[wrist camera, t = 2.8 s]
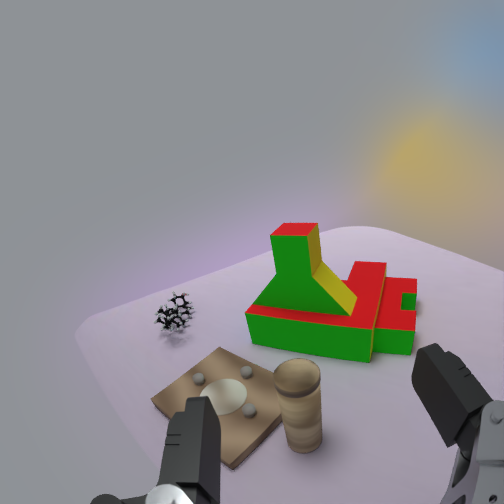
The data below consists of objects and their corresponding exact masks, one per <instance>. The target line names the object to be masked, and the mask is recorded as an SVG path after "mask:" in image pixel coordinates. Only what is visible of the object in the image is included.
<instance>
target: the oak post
mask: <svg viewBox="0 0 504 504" xmlns="http://www.w3.org/2000/svg"><path fill="white" fill-rule="evenodd" d="M320 380H321V379H320V369H319V367H318V366H317V365H316V364H315V363H314V362H313V361H310V360H308V359H302V358H297V359H291V360H288V361H285V362H283V363H282V364H280V365H279V366H278V367H277V368H276V370H275V371H274V374H273V381H274V386H275V389H276V392H277V397H278V401H279V406H280V411H281V415H282V420H283V424H284V429H285V433H286V438H287V442H288V445H289V447H290V448H291V449H292V450H293V451H295V452H298V453H308V452H311V451H313V450H315V449H317V448H318V447H319V445H320V444H321V441H322V415H321V390H320Z"/></svg>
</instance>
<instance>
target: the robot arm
mask: <svg viewBox="0 0 504 504" xmlns="http://www.w3.org/2000/svg"><path fill="white" fill-rule="evenodd" d="M412 384H413V387H414V390H415V391H416V393H417V395H418V396H419V398H420V400H421V401H422V403H423V405H424V407H425V408H426V410H427V412H428V413H429V415H430V417H431V419H432V421H433V422H434V424H435V426H436V428H437V429H438V431H439V433H440V435H441V437H442V439H443V440H444V442H445V444H446V446H447V448H448V447H450V446H452V445H454V444H456V443H457V445H458V446H459V448H458V450H457V454H456V458H455V463H454V467H453V471H452V474H451V478H450V482H449V485H448V488H447V491H446V493H445V495H444V497H443V498H442V500H441V502H440V504H504V402H503V401H499V400H495V401H494V400H492V398H491V397H490V396H489V395H488V393H487V392H486V391H485V389H484V388H483V387H482V385H481V384H480V383H479V382H478V380H477V379H476V378H475V376H474V375H473V374H471V371H470V370H469V369H468V368H466V365H465V364H464V363H463V362H462V360H461V359H460V358H459V357H458V356H456V355H454V354H453V353H451V352H449V351H448V352H444V351H443V350H442V348H441V347H440V346H439V345H438V344H437V343H434V344H431V345H428V346H426V347H423V348H420V349H419V350H418V351H417V355H416V359H415V364H414V368H413V372H412ZM220 465H221V425H220V421H219V418H218V416H217V414H216V412H215V410H214V407H213V405H212V403H211V401H210V399H209V397H208V396H200V397H188V398H187V400H186V404H185V411H183V412H175V414H174V415H173V417H172V418H171V420H170V421H169V424H168V429H167V437H166V440H165V446H164V452H163V458H162V464H161V470H160V476H159V481H158V484H157V485H156V487H155V488H153V489H152V490H151V491H150V492H149V493H148V494H146V495H144V496H140V497H135V498H129V499H122V500H119V499H118V498H116V497H115V496H113V495H109V494H102V495H99V496H97V497H96V498H94V499H93V500H92V502H91V503H90V504H220Z"/></svg>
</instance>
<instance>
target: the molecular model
mask: <svg viewBox="0 0 504 504" xmlns="http://www.w3.org/2000/svg"><path fill="white" fill-rule="evenodd" d="M172 293H173V295H174V298H172V299H168V301H173V302H174V304H175V307H174V308H169V307H167V305H166V304H165V305H164V306H165V307H166V308H167V309H166V311H165V312H164V311H163V309H162V307H163V306H162V305H160V309H159V311H158V312H156V313H155V315H157V314H158V319H157V320H156V321H154V324H155V323H157V322H161V323H162V324H164V325H162V327H163V328H161V329H160V330H161V331H162V330H167V329H168V330H170V331H172V330H173V329H174V328H173V327H174V325H172V322H173V323H175V324H177V331H179V326H180V325H182V326H183V327H185V325H184V323H185V322H187V321H189V319H187V320H182V318H181V316H182V314H188V316H189V317H190V318H191V317H192V316H191V315H190V314H189V310H190V309H194V307H186V305H187V304H191V303H192V302H191V301H190V302H187V301H185V299H184V296H185V295H189V293H187V294H185V292H184V293H182V295H181V296H176V295H175V292H172ZM177 298H182V299H183V301H184V304H183V305H180V306H178V303H176V302H175V301H176V299H177ZM178 307H182V308H186V309H187V310H186V311H185V312H182V313H181V311H179V310H178ZM169 312H172V313H170V314H169ZM159 313H161V314H164V315H166V318H165V317H164V316H162V315H161V314H159ZM173 314H174V315H175V316H174V317H173ZM176 314H177V315H176ZM160 316H161V318H163V319H164V320H165V322H163V321H161V319H160ZM175 318H178V319H180V320H181V322H176V321H174V319H175ZM169 320H170V321H169ZM168 326H170V327H171V329H170V328H169V327H168Z"/></svg>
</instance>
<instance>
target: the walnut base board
mask: <svg viewBox="0 0 504 504" xmlns="http://www.w3.org/2000/svg"><path fill="white" fill-rule="evenodd" d="M273 374H274V373H273V372H271V371H268V370H266V369H264V368H262V367H260V366H258V365H255V364H253V363H251V362H249V361H247V360H245V359H243V358H241V357H239V356H237V355H235V354H233V353H231V352H229V351H227V350H225V349H223V348H221V347H218V348H217V349H216V350H215V351H213V352H212V353H211V354H210V355H208V356H207V357H206V358H204V359H203V360H202V361H201V362H199V363H198V364H197V365H195V366H194V367H193V368H191V369H190V370H189V371H187V372H186V373H185V374H184V375H182V376H181V377H180V378H178V379H177V380H176V381H174V382H173V383H172V384H170V385H169V386H168V387H166V388H165V389H163V390H162V391H161V392H159V393H158V394H157V395H155V396H154V397H152V398H151V401H152V402H153V404H154V405H155V406H156V407H157V408H158V409H159V410H160V411H161V412H162V413H163V414H164V415H165V416H166V417H168V418H169V419H170V420H171V418H172V417H173V415H174V414H175V412H183V411H185V404H186V400H187V398H188V397H200V396H208V397H209V399H210V401H211V403H212V405H213V407H214V410H215V412H216V414H217V416H218V418H219V421H220V425H221V462H222V463H224V464H225V465H227V466H228V467H229V468H231V469H232V470H233V469H234V468H236V467H237V466H238V465H239V464H240V463H241V462H242V461H243V460H244V459H245V458H246V457H247V456H248V455H249V454H250V453H251V452H252V451H253V450H254V449H255V448H256V447H257V446H258V445H259V444H260V443H261V442H262V441H263V440H264V439H265V438H266V437H267V436H268V435H269V434H270V433H271V432H272V431H273V430H274V429H275V428H276V426H277V425H278V424H279V423H280V422H281V421H282V415H281V411H280V406H279V401H278V397H277V392H276V389H275V386H274V381H273Z"/></svg>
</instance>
